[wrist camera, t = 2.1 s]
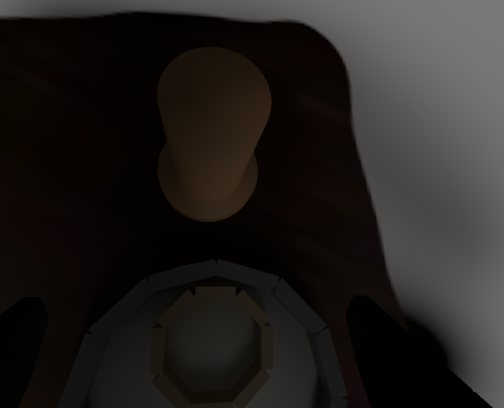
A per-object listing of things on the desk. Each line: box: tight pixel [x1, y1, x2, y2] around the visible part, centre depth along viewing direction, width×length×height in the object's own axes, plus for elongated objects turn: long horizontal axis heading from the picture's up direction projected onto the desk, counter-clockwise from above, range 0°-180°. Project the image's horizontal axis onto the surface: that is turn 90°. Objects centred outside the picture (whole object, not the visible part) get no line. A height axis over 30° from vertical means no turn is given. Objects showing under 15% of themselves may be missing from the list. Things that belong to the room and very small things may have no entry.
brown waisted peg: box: [157, 47, 271, 222], centre depth 17 cm, size 6×6×12 cm
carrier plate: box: [57, 259, 348, 408], centre depth 19 cm, size 16×16×3 cm
